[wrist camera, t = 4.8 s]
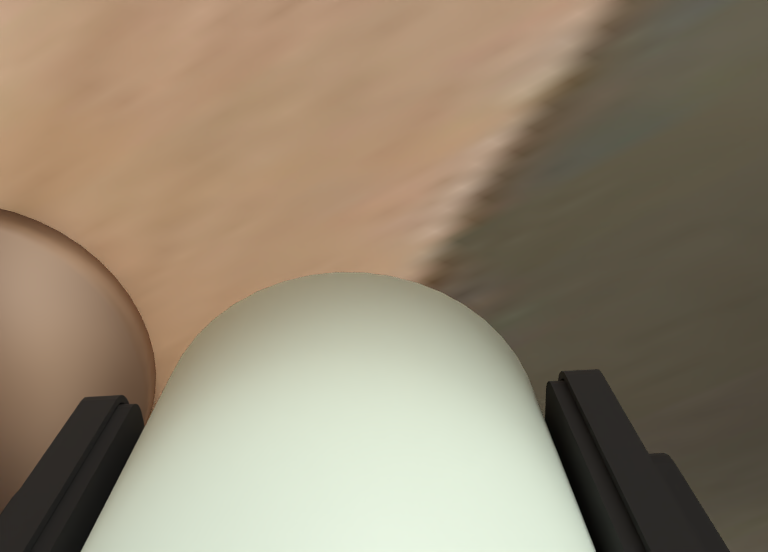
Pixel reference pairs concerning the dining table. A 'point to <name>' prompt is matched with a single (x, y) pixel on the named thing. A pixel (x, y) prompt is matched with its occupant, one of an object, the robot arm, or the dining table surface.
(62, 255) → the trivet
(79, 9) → the dining table surface
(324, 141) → the dining table surface
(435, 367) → the pale green rounded cylinder
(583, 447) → the robot arm
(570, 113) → the dining table surface
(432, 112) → the dining table surface
